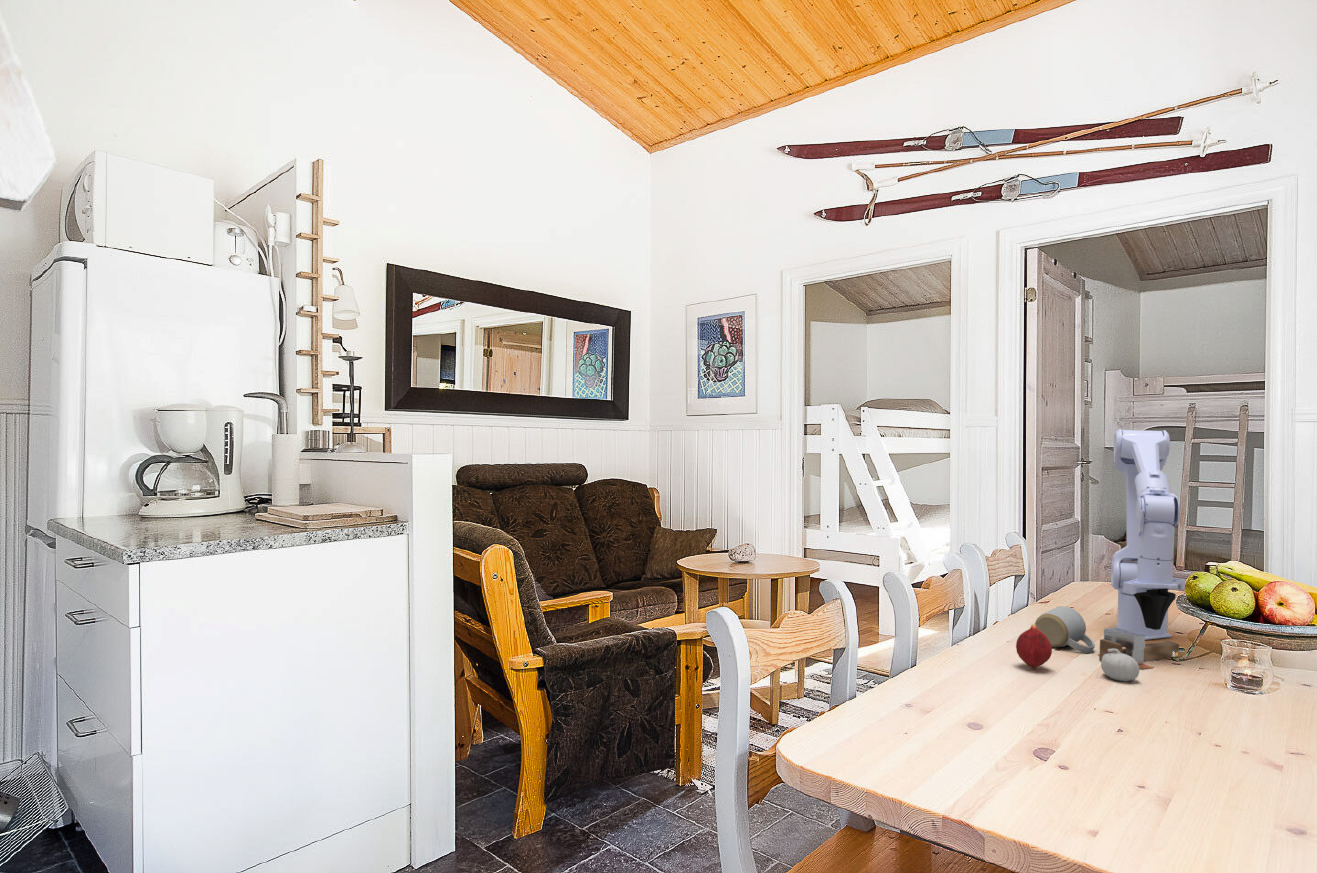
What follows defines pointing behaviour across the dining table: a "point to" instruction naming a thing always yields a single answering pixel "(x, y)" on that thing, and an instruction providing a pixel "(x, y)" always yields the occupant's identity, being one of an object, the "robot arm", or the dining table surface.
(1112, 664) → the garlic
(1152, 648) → the rail
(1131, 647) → the gray arch block
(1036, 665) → the onion
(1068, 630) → the ceramic mug
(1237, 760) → the dining table surface
